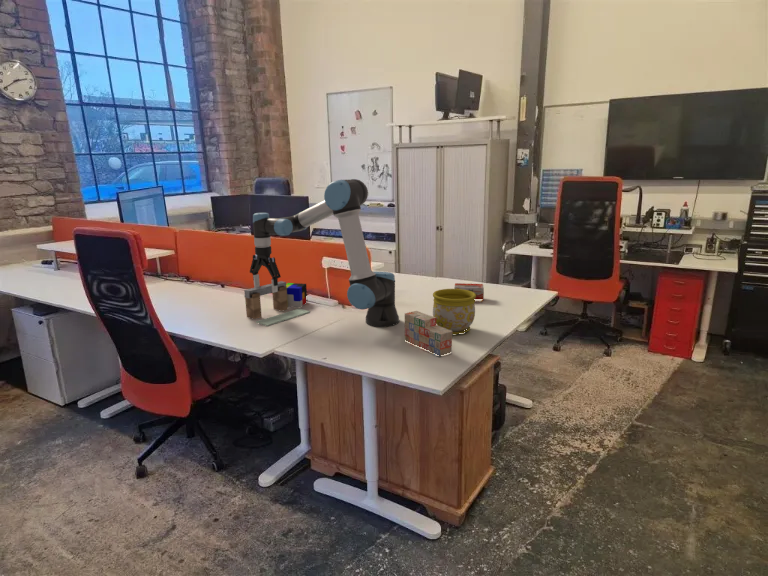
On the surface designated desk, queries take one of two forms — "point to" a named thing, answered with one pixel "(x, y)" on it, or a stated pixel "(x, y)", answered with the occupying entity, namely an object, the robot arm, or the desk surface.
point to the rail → (262, 289)
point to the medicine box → (472, 289)
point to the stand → (255, 306)
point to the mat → (282, 317)
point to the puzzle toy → (296, 294)
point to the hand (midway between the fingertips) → (265, 289)
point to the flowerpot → (454, 309)
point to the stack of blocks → (427, 333)
